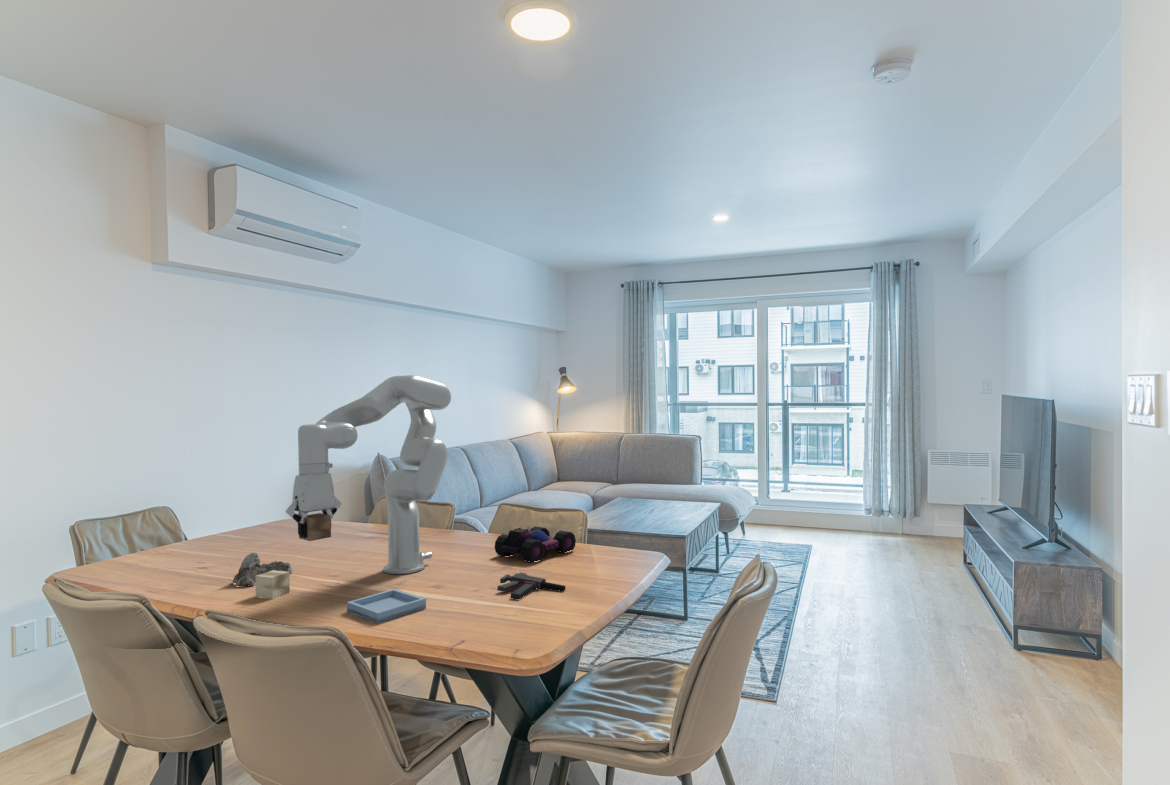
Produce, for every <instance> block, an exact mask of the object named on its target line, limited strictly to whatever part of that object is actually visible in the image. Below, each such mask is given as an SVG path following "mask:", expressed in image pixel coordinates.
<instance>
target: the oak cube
mask: <svg viewBox="0 0 1170 785" xmlns="http://www.w3.org/2000/svg"><path fill="white" fill-rule="evenodd" d="M290 578H291V577H290V574H289V572H285V571H275V570H272V571H269V572H266V573H263V574H260V575H257V576H256V584H255V598H256V597H262V598H261V599H265V598H270V599H269V600H275V599H277V598H276V597H278V598H280V597H283V596H285V595H284V594H286V595H288V594H290V593H289V592H291V591H290V590H291V589H290V588H291V587H290V582H291V581H290V580H291V579H290ZM287 593H288V594H287ZM282 595H283V596H282ZM279 596H280V597H279ZM274 598H275V599H274Z"/></svg>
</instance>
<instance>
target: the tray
mask: <svg viewBox="0 0 1170 785" xmlns="http://www.w3.org/2000/svg"><path fill="white" fill-rule="evenodd" d="M425 609H427V598H425V597H422V596H419V595H415V594H412V593H410V592H406V591H403V590H401V589H396V588H393V589H389V590H386V591H381V592H379V593H375V594H371V595H368V596H365V597H361V598H356V599H353V600H350V601H349V600H348V601H347V602H346V613H349V614H350V615H351V614H352V615H353V616H356V617H360V618H362V619H364V620H368V621H370V622H373V623H376V624H381V623H385V622H387V621H388V622H389V621H391V620H393V619H397V618H400V617H403V616H405V615H406V616H407V615H409V614H412V613H415V612H419V611H423V610H425Z"/></svg>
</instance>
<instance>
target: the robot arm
mask: <svg viewBox="0 0 1170 785" xmlns="http://www.w3.org/2000/svg"><path fill="white" fill-rule="evenodd" d="M451 401H452V393H451V390H450V389H449V388H448V386H446V385H445V384H444V383H440V382H438V381H434V380H432V379H428V378H426V377H425V378H424V377H422V376H417V375H415V374H414V375H411V374H410V375H394V376H390V377H388V378H386V379H385V380H384V381H382V382H380V383H379V384H378V385H377V386H375V387H374V388H373V389H371V390H370V391H369V392H367V393H366V394H365V395H363V396H362V397H360V398H358V399H355V400H353V401H351V402H349V403H347V404H344V405H342V406H339V407H338V408H337V409H334V410H332V411H331V412H328V413H327V414H326V415H325V416H323V417H322V418H320V419H319V420H318V421H317V422H316V423H315V424H314V423H312V424H310V423H309V424H302V425H300V426H299V427H298V429H297V431H298V432H297V438H298V439H297V440H298V441H297V443H298V444H297V445H298V446H297V447H298V448H297V449H298V452H297V453H298V475H297V474H296V475H295V477H294V481H293V482H294V483H293V488H292V502H291V503H290V505H289V506H287V508H286V509H285V514H286V515H288V516H289V517H291V519H293V520H294V521H295V522H296V523H297V534H298V538H299V537H302V538H307V523H305V520H306V517H307V515H309V513H313V512H318V511H321V513H322V514H327V515H331V520H332V519H333V518H334V515H335V514H336V512H337V511H338V509H339V508H340V507H341V506H342V504H343V503H342V502H341V501H340V500H339V499H338V498H337V497H336V496H335V488H334V481H333V478H332V474H331V472H330V469H332V468H333V467H334V466H333V463H330V462H329V449H334V450H335V449H336V450H340V449H341V450H344V449H348V448H350V447H352V446H354V444H355V443H356V442H357V440H358V431H357V429H356V427H361V426H365V425H369V424H372V423H375V422H378V421H380V420H381V419H383V418H384V417H385V416H386V415H388V414H389V413H390V412H391V411H392V410H394V409H395V408H397V406H399V405H401V404H402V403H404V404H405V406H406V408H407V409H408V413H409V416H410V424H409V428H408V430H407V434H406V436H405V439H404V441H403V443H402V446H401V450H400V454H399V460H400V463H401V464H402V465H404V466H406V467H409V468H417V470H416V469H407V468H406V469H404V468H400V469H399V468H398V469H394V470H392V471H390V472H389V473H388V474H387V475H386V477H385V479H384V482H383V489H384V495H385V500H386V506H387V507H386V508H387V542H388V543H387V552H388V553H387V554H388V555H387V556H388V563H387V564H385V565H383V567H382V569H383V572H384V573H386V574H390V575H405V574H407V575H408V574H413V573H416V572H420V571H423V569H424V568H425V565H426V564H425V562H424V561H425V560H428V559H432V557H433V553H432V552H431V551H428V552H420V513H419V508H418V504H417V502H427V501H429V500H431V499H432V498H433V497H434V496H435V494H436V493H437V490H438V487H439V484H440V482H441V479H442V477H443V473H444V469H445V467H446V464H447V461H448V449H447V445H445V443H444V441H442V440H439V439H437V438H435V435H436V432H437V421H436V419H435V416H434V413H433V411H441V410H444V409H447V407H448V406H449V405H450V404H451ZM296 512H297V513H296Z"/></svg>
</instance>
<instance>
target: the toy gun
mask: <svg viewBox="0 0 1170 785" xmlns="http://www.w3.org/2000/svg"><path fill="white" fill-rule="evenodd" d="M506 582H507V583H506ZM499 583H500V584H499V585H497V591H498V592H503V593H506V592H507V593H508V592H509V591H511V590H513V591H512V592H510V599H511V598H513V599H512V600H516V599H520V598H521V599H523V598H524V597H523V596H525V595H526V594H527V595H529V594H530V593H531V592H533V591H535V590H536V588H537V589H540V588H542V589H543V588H544V590H549V589H552V590H551V591H554V590H560V591H559V592H561V591H563V590H565V591H566V585H564V584H563V585H562V584H558V583H553V582H547V579H546V578H542V577H539V576H538V577H537V576H531V575H528V574H527V573H526V572H521V571H520V572H519V573H517V572H516V573H515V574H513V575H511V574H505V575H504V576H502V577H501V578H499ZM518 586H519V587H518ZM534 589H535V590H534ZM532 590H533V591H532ZM529 592H530V593H529ZM563 592H564V591H563ZM528 593H529V594H528ZM527 595H526V596H527ZM526 596H525V597H526ZM522 597H523V598H522ZM521 599H520V600H521Z"/></svg>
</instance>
